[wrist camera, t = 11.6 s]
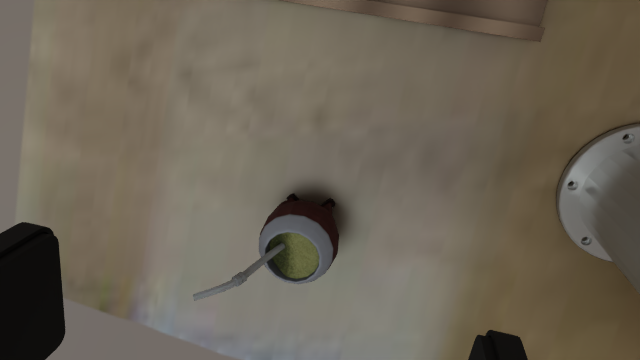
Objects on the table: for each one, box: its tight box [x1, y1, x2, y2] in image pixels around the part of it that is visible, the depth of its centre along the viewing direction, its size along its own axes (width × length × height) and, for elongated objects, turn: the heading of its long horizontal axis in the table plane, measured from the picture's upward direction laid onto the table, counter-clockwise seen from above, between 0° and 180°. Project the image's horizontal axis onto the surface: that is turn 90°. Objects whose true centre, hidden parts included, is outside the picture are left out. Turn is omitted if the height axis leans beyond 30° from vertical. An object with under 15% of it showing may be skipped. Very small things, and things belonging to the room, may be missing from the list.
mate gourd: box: [193, 194, 339, 301], centre depth 39 cm, size 8×8×15 cm
